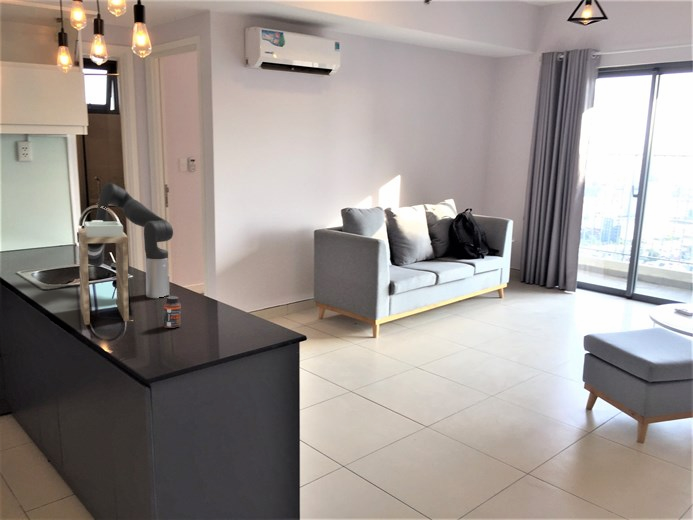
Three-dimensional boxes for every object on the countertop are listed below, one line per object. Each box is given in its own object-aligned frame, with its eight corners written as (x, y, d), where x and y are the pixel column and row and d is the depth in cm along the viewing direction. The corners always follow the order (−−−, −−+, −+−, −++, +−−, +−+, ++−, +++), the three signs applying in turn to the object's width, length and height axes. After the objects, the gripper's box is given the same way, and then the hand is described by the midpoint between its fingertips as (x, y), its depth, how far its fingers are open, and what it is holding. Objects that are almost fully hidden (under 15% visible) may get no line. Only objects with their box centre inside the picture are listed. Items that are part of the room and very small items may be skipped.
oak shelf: (120, 305, 237) (119, 228, 231) (129, 321, 216) (127, 237, 210) (80, 308, 230) (78, 228, 224) (85, 325, 209) (82, 237, 203)
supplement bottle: (171, 330, 209) (171, 300, 207) (160, 327, 212) (160, 297, 210) (184, 326, 214) (184, 297, 212) (172, 323, 217) (172, 294, 215)
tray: (112, 225, 238) (112, 215, 238) (123, 236, 211) (123, 225, 210) (80, 225, 233) (80, 215, 232) (87, 237, 205) (86, 226, 204)
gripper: (75, 236, 251) (76, 222, 237) (110, 236, 257) (114, 221, 244) (76, 253, 249) (78, 239, 235) (112, 252, 255) (115, 238, 242)
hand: (96, 230), depth 239 cm, fingers open, 8 cm apart
